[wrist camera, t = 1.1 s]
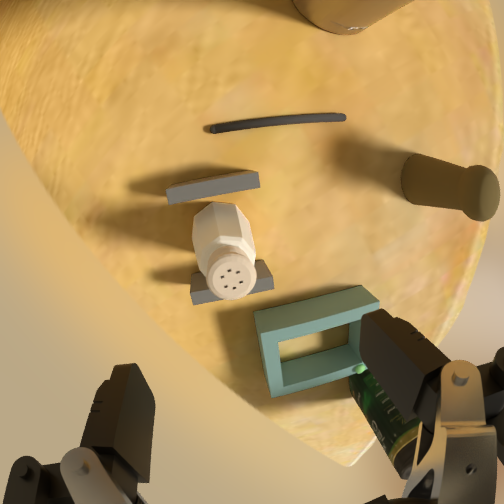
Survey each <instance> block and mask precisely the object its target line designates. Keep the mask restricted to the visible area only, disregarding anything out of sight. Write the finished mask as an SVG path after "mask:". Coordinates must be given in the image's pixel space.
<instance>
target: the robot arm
mask: <svg viewBox="0 0 504 504" xmlns="http://www.w3.org/2000/svg"><path fill="white" fill-rule="evenodd" d="M412 1H414V0H293V2H294V4H295V6H296V8H297V9H298V10H299V11H300V13H301V14H302V15H303V16H304V17H306V18H307V19H308V20H309V21H310V22H312V23H313V24H315V25H316V26H318V27H320V28H322V29H324V30H327V31H329V32H332V33H336V34H341V35H352V34H357V33H359V32H361V31H363V30H365V29H366V28H368V27H369V26H371V25H372V24H374V23H376V22H377V21H379V20H381V19H383V18H384V17H386V16H388V15H389V14H391V13H393V12H394V11H396V10H398V9H400V8H401V7H403V6H405V5H407V4H409V3H410V2H412ZM359 352H360V356H361V359H362V361H363V363H364V364H365V365H366V367H367V368H368V369H369V371H370V372H371V373H372V375H373V376H374V377H375V379H376V380H377V382H378V383H379V384H380V386H381V387H382V388H383V390H384V391H385V392H386V394H387V395H388V397H389V398H390V399H391V401H392V402H393V403H394V405H395V406H396V408H397V409H398V410H399V412H400V413H401V415H402V416H403V417H404V419H405V420H406V421H407V422H408V421H410V420H412V419H414V418H416V417H417V416H418V418H419V419H420V420H421V422H420V424H419V430H418V438H417V444H416V451H415V456H414V462H413V467H412V471H411V474H410V476H409V478H408V481H407V483H406V486H405V489H404V492H403V495H402V498H398V499H390V500H387V498H386V496H385V495H383V496H380V497H378V498H376V499H374V500H372V501H370V502H367V503H365V504H494V503H495V493H496V479H497V457H498V458H499V460H500V461H501V462H502V464H503V465H504V347H502V348H500V349H499V350H498V351H497V353H496V355H495V357H494V360H493V362H490V363H487V364H483V365H480V366H475V365H473V364H472V363H470V362H468V361H464V360H455V361H451V360H450V359H448V358H447V357H446V356H445V355H444V354H443V353H442V352H441V351H440V350H439V349H438V348H437V347H436V346H435V345H434V344H432V343H431V342H430V341H429V340H428V339H427V338H425V336H424V335H423V334H421V333H420V332H418V330H417V329H416V328H415V327H414V326H413V325H411V324H410V323H409V322H407V321H405V320H403V319H400V318H398V317H396V318H393V317H392V316H391V315H390V314H389V313H388V312H386V311H385V310H384V309H382V308H381V309H378V310H375V311H372V312H369V313H366V314H363V315H362V317H361V328H360V342H359ZM93 402H94V404H92V407H91V410H90V411H91V413H89V416H88V419H87V423H86V426H85V430H84V433H83V436H82V440H81V443H80V447H78V448H74V449H72V450H70V451H69V452H67V453H66V454H65V456H64V457H63V458H62V460H61V463H55V464H49V465H41V464H40V463H39V462H38V461H37V460H36V459H35V458H33V457H30V456H23V457H20V458H19V459H18V460H16V461H15V462H14V464H13V466H12V468H11V472H10V475H9V479H8V483H7V487H6V491H5V495H4V500H3V504H148V503H147V502H146V501H145V500H144V498H143V497H142V496H141V495H140V493H139V492H138V491H137V484H138V483H149V479H150V462H151V448H152V437H153V426H154V416H155V400H154V396H153V393H152V391H151V389H150V388H149V386H148V384H147V382H146V380H145V378H144V376H143V374H142V372H141V370H140V369H139V367H138V365H137V364H136V363H132V364H123V365H115V366H114V368H113V371H112V374H111V377H110V380H105V381H104V382H103V383H102V385H101V386H100V387H99V388H98V390H97V392H96V395H95V398H94V400H93Z"/></svg>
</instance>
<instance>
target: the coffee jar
mask: <svg viewBox="0 0 504 504" xmlns="http://www.w3.org/2000/svg"><path fill="white" fill-rule="evenodd" d="M349 386H350V391H351V394H352V396H353V398H354V399H355V401H356V403H357V404H358V406H359V407H360V409H361V411H362V412H363V414H364V416H365V417H366V419H367V421H368V423H369V424H370V426H371V428H372V429H373V431H374V433H375V435H376V436H377V438H378V440H379V441H380V443H381V445H382V447H383V448H384V450H385V452H386V454H387V456H388V457H389V459H390V461H391V463H392V464H393V466H394V468H395V469H396V471H397V472H398V474H399V476H400V477H401V479H406V480H408V478H409V476H410V474H411V471H412V467H413V462H414V456H415V451H416V444H417V438H418V430H419V424H420V422H421V420H420V419H419V418H418V416H417V417H416V418H414V419H412V420H410V421H408V422H407V421H406V420H405V419H404V417H403V416H402V415H401V413H400V412H399V410H398V409H397V408H396V406H395V405H394V403H393V402H392V401H391V399H390V398H389V397H388V395H387V394H386V392H385V391H384V390H383V388H382V387H381V386H380V384H379V383H378V382H377V380H376V379H375V377H374V376H373V375H372V373H371V372H370V371H369V369H366V370H364V371H363V372H362V373H360V374H357V373H355V374H352V375H349Z"/></svg>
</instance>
